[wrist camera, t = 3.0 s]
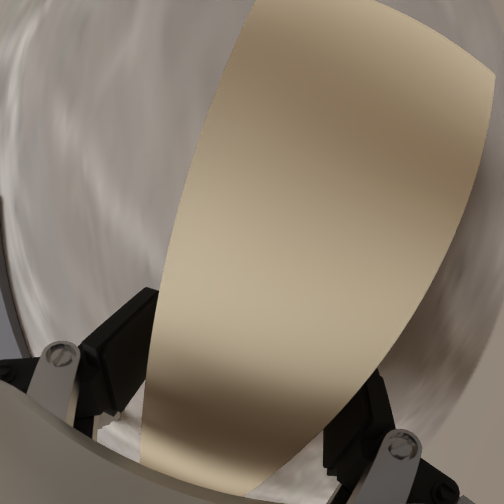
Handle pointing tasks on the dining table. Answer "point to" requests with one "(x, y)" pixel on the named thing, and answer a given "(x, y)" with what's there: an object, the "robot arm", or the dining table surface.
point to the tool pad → (9, 319)
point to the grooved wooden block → (305, 231)
